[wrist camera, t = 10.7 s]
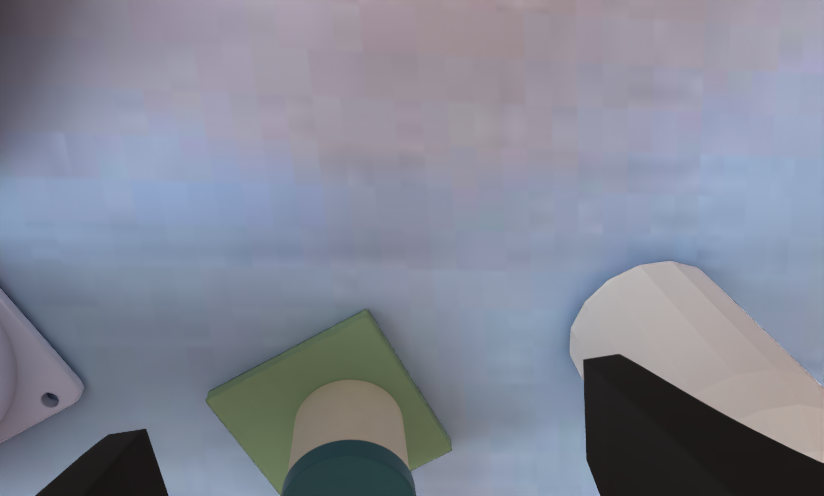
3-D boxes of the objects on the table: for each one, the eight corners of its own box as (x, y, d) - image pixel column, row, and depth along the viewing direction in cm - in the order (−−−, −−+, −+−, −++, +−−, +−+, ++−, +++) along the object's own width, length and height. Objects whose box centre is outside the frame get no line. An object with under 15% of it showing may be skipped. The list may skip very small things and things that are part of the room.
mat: (304, 512, 23) (302, 524, 23) (208, 391, 21) (204, 401, 21) (450, 439, 23) (452, 450, 22) (366, 307, 21) (367, 316, 20)
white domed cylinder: (746, 264, 21) (966, 450, 14) (693, 393, 23) (855, 607, 16) (591, 257, 20) (740, 452, 13) (552, 391, 22) (659, 617, 15)
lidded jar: (329, 488, 22) (324, 585, 18) (269, 409, 21) (251, 496, 17) (425, 440, 22) (440, 529, 18) (371, 356, 21) (375, 434, 17)
